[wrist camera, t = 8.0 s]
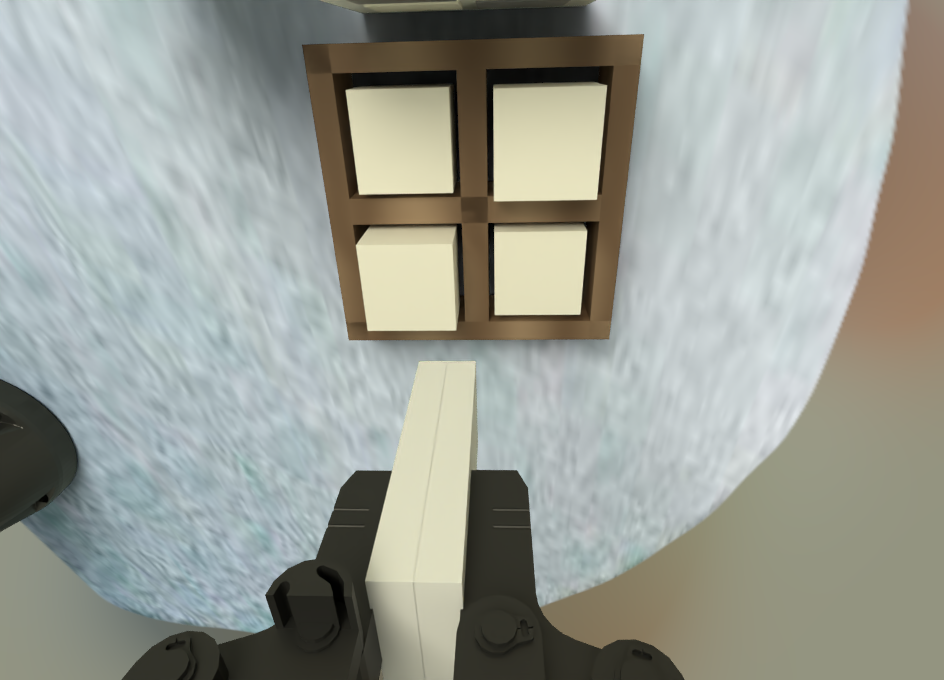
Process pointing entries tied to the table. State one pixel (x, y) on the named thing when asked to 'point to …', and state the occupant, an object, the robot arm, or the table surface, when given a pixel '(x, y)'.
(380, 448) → the table surface
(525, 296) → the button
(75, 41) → the table surface
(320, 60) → the board
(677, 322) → the table surface
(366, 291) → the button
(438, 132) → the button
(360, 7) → the card
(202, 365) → the table surface
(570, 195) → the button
